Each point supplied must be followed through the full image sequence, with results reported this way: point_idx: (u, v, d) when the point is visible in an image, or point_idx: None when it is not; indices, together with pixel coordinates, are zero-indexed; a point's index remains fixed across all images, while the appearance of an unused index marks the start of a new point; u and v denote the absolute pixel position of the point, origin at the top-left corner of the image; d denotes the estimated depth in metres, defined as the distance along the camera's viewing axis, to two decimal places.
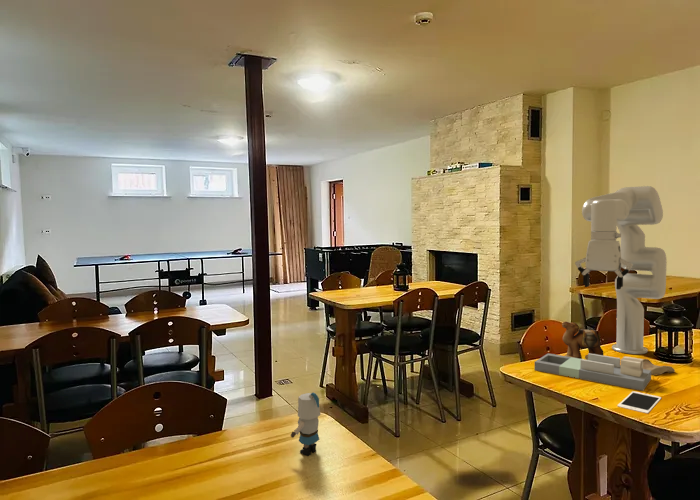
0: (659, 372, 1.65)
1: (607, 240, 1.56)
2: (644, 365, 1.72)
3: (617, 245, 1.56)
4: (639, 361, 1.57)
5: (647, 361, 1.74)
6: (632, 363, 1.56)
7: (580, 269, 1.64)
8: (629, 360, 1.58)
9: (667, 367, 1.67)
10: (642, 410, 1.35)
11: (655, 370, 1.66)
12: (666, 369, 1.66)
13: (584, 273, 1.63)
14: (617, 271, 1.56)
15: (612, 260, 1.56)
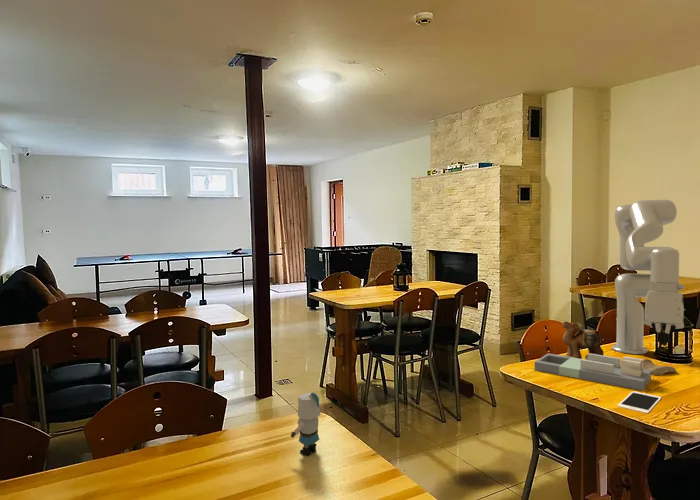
0: (660, 372, 1.65)
1: (670, 292, 1.48)
2: (645, 365, 1.72)
3: (680, 297, 1.48)
4: (639, 361, 1.57)
5: (648, 361, 1.74)
6: (632, 363, 1.56)
7: (654, 326, 1.53)
8: (629, 360, 1.58)
9: (668, 367, 1.67)
10: (642, 410, 1.35)
11: (657, 370, 1.66)
12: (667, 369, 1.66)
13: (658, 330, 1.52)
14: (668, 327, 1.50)
15: (675, 313, 1.48)
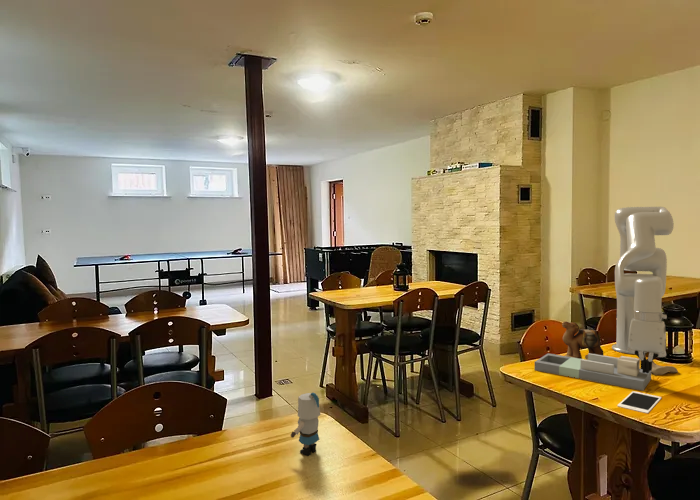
0: (661, 372, 1.65)
1: (652, 322, 1.51)
2: None
3: (662, 327, 1.51)
4: (636, 361, 1.57)
5: None
6: (629, 363, 1.57)
7: (637, 353, 1.57)
8: (626, 360, 1.58)
9: (670, 367, 1.66)
10: (642, 410, 1.35)
11: (658, 370, 1.66)
12: (669, 369, 1.66)
13: (641, 358, 1.55)
14: (651, 355, 1.54)
15: (657, 342, 1.52)
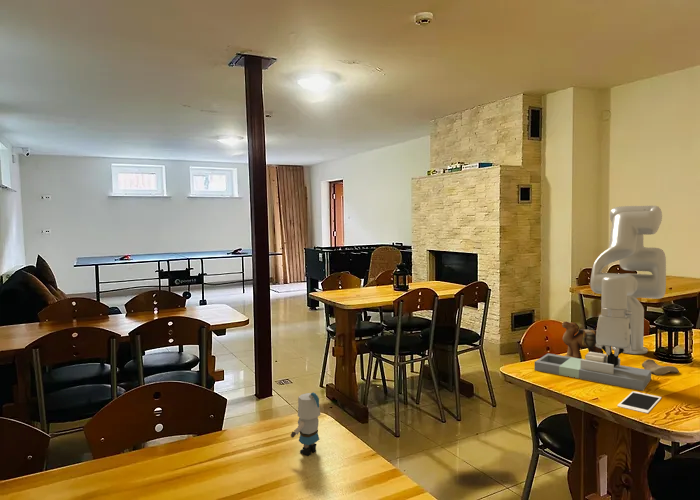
0: (662, 372, 1.65)
1: (618, 318, 1.58)
2: (648, 365, 1.72)
3: (627, 323, 1.58)
4: (603, 356, 1.63)
5: (651, 361, 1.74)
6: (596, 358, 1.63)
7: (604, 348, 1.63)
8: (593, 355, 1.64)
9: (671, 367, 1.66)
10: (642, 410, 1.35)
11: (659, 370, 1.66)
12: (670, 369, 1.66)
13: (608, 352, 1.62)
14: (617, 350, 1.60)
15: (622, 337, 1.58)
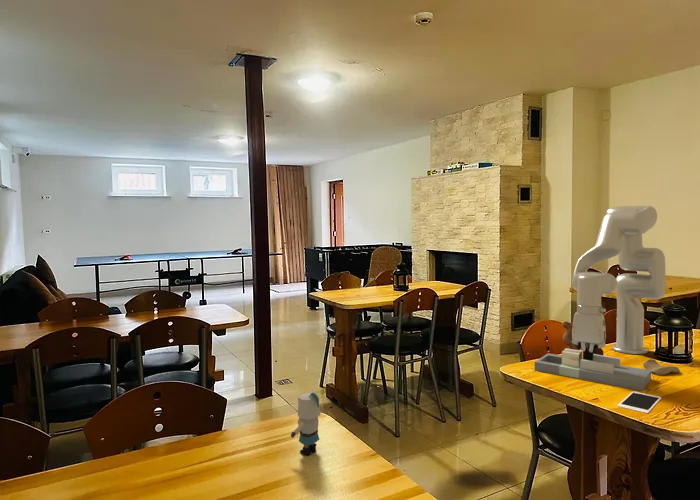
0: (663, 372, 1.65)
1: (592, 315, 1.63)
2: (649, 365, 1.72)
3: (601, 320, 1.63)
4: (578, 352, 1.68)
5: (653, 361, 1.74)
6: (572, 354, 1.67)
7: (580, 345, 1.68)
8: (569, 352, 1.69)
9: (672, 367, 1.66)
10: (642, 410, 1.35)
11: (660, 370, 1.65)
12: (671, 369, 1.66)
13: (583, 349, 1.67)
14: (592, 346, 1.65)
15: (597, 334, 1.63)
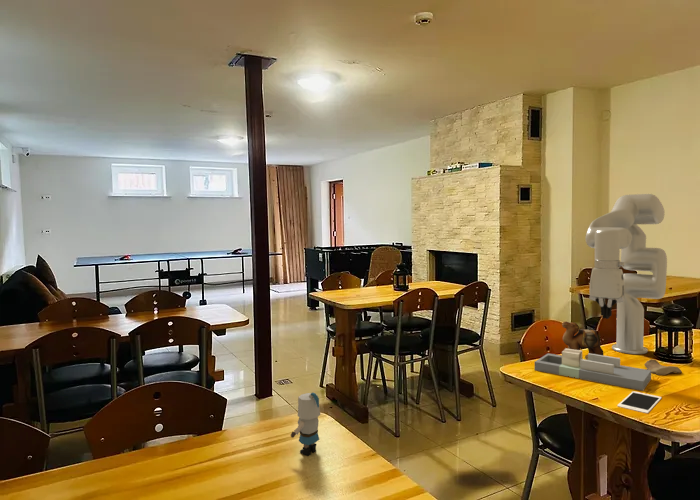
0: (664, 372, 1.65)
1: (610, 269, 1.60)
2: (650, 365, 1.72)
3: (620, 274, 1.60)
4: (578, 352, 1.68)
5: (654, 361, 1.74)
6: (572, 354, 1.67)
7: (598, 300, 1.66)
8: (569, 352, 1.69)
9: (673, 367, 1.66)
10: (642, 410, 1.35)
11: (661, 370, 1.65)
12: (672, 369, 1.66)
13: (601, 304, 1.65)
14: (610, 301, 1.63)
15: (615, 288, 1.60)
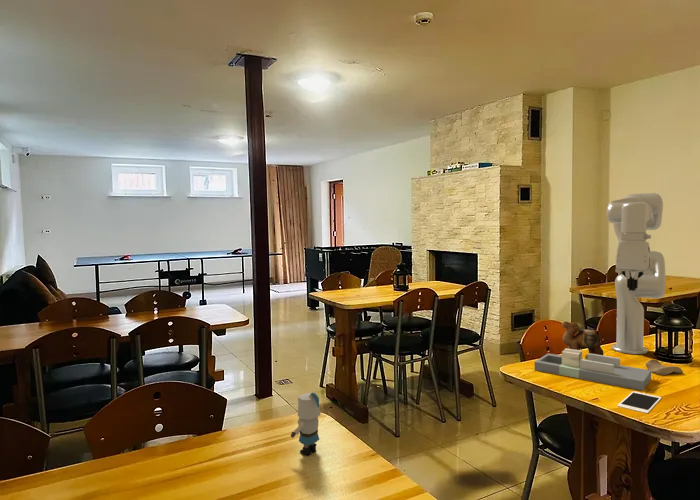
0: (665, 372, 1.65)
1: (637, 241, 1.63)
2: (651, 365, 1.72)
3: (647, 246, 1.63)
4: (578, 352, 1.68)
5: (655, 361, 1.74)
6: (572, 354, 1.67)
7: (624, 273, 1.69)
8: (569, 352, 1.69)
9: (674, 367, 1.66)
10: (642, 410, 1.35)
11: (662, 370, 1.65)
12: (673, 369, 1.66)
13: (628, 276, 1.67)
14: (636, 273, 1.65)
15: (642, 260, 1.63)
